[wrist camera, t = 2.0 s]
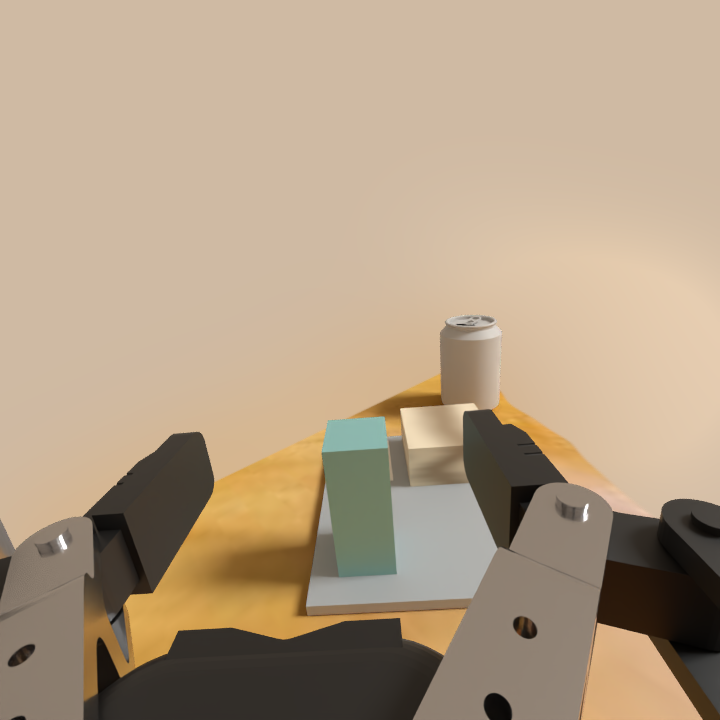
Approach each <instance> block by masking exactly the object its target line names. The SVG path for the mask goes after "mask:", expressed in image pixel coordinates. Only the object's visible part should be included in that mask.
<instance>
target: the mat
mask: <svg viewBox="0 0 720 720" xmlns="http://www.w3.org/2000/svg"><path fill="white" fill-rule="evenodd" d="M387 444H388V455H389V470H390V484H391V498H392V512H393V526H394V541H395V555H396V569H397V574H391V575H372V576H354V577H339V574H338V567H337V560H336V553H335V545H334V538H333V531H332V524H331V517H330V509H329V502H328V495H327V488H326V483H325V489H324V495H323V502H322V508H321V514H320V520H319V527H318V533H317V539H316V546H315V552H314V558H313V564H312V571H311V577H310V583H309V590H308V596H307V602H306V611H307V616H311V615H331V614H351V613H371V612H391V611H411V610H431V609H451V608H468V607H469V605H470V603H471V601H472V599H473V597H474V595H475V593H476V591H477V589H478V587H479V585H480V583H481V580H482V578H483V576H484V574H485V572H486V570H487V568H488V566H489V564H490V562H491V560H492V558H493V556H494V554H495V552H496V551H497V546H496V544H495V542H494V540H493V537H492V535H491V533H490V530H489V528H488V526H487V523H486V521H485V519H484V516H483V514H482V512H481V509H480V507H479V505H478V502H477V500H476V498H475V495H474V493H473V491H472V488H471V486H470V484H469V483H462V484H446V485H430V486H414V487H410V482H409V476H408V471H407V465H406V460H405V454H404V449H403V443H402V436H391V437H387Z"/></svg>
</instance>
